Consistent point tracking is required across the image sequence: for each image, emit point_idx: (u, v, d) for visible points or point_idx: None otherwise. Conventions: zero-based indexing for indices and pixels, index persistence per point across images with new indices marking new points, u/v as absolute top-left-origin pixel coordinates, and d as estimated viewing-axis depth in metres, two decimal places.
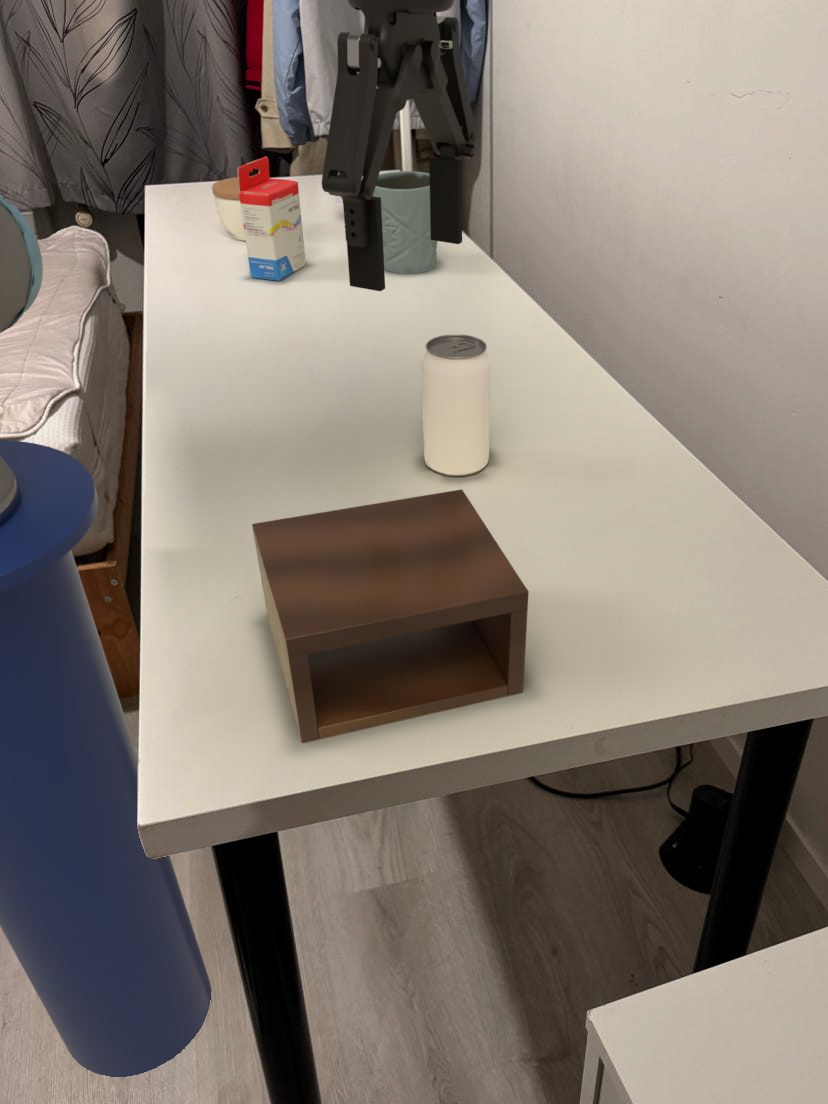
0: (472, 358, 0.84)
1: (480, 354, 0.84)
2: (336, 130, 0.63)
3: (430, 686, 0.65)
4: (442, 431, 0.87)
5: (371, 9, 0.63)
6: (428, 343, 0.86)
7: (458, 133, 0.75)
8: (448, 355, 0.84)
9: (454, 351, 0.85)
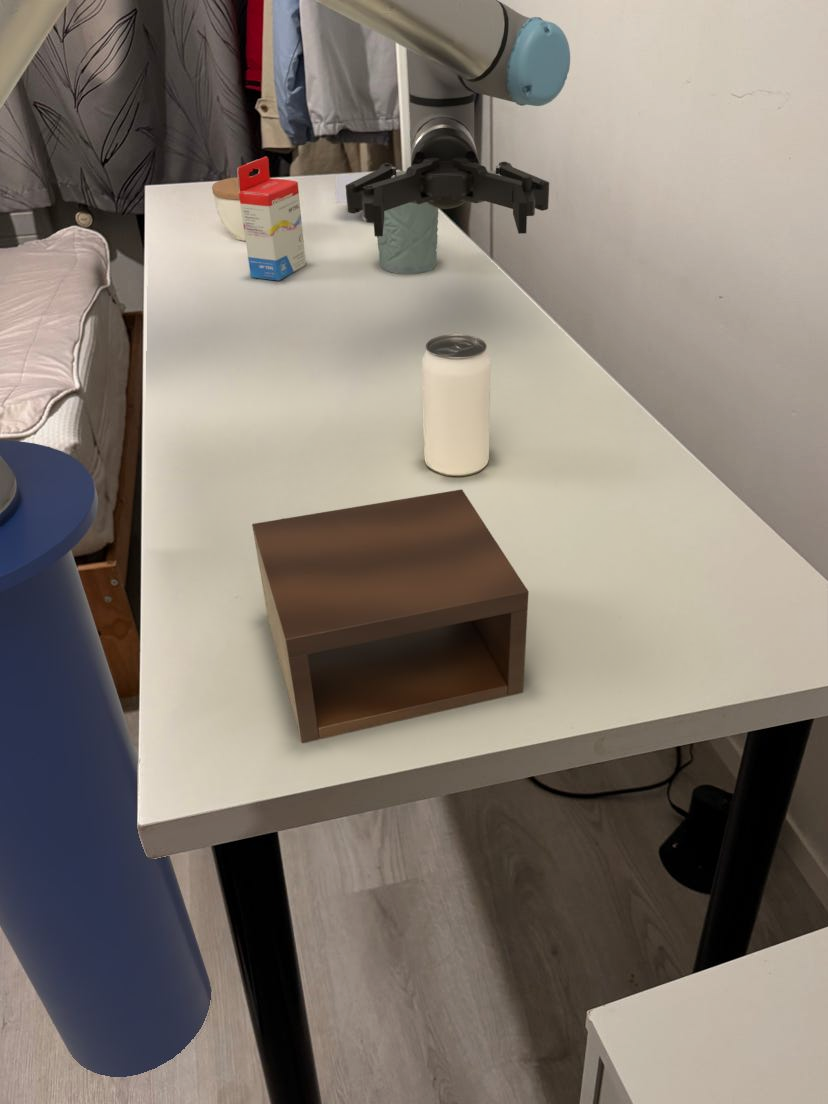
0: (472, 358, 0.84)
1: (480, 354, 0.84)
2: None
3: (430, 686, 0.65)
4: (442, 431, 0.87)
5: None
6: (428, 343, 0.86)
7: None
8: (448, 355, 0.84)
9: (454, 351, 0.85)
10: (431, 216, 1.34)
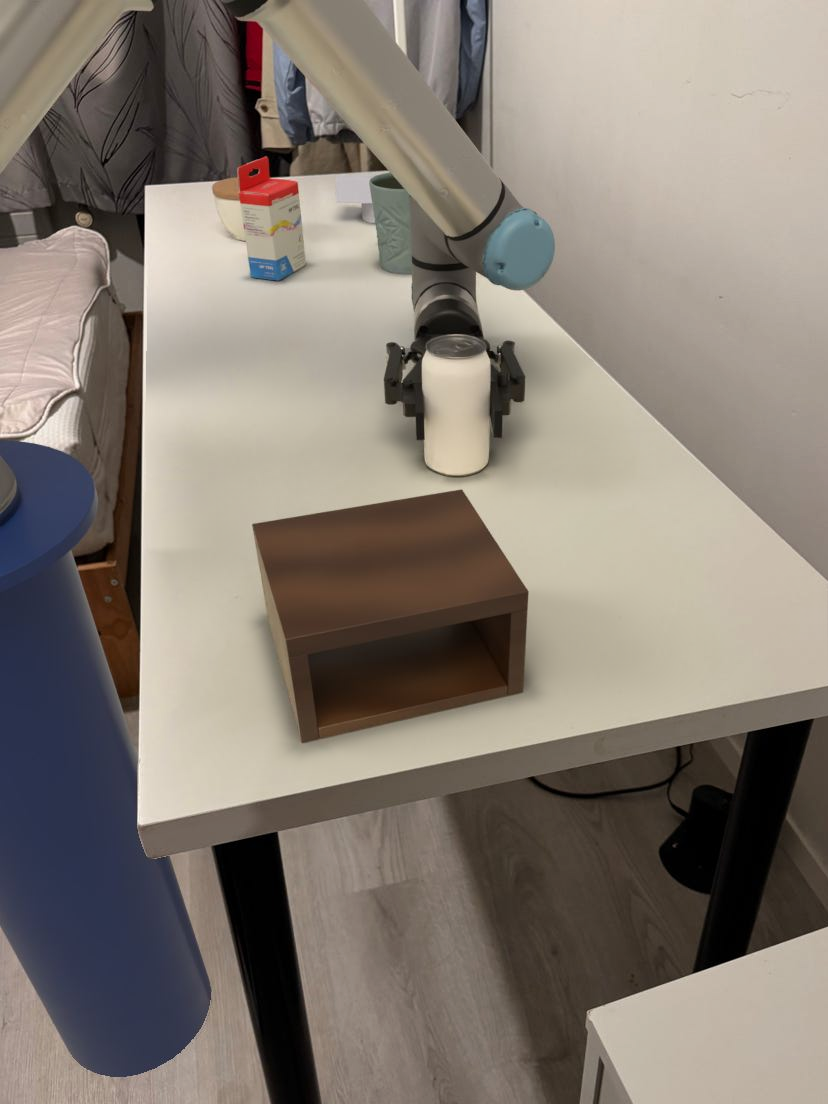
0: (472, 358, 0.84)
1: (480, 354, 0.84)
2: None
3: (430, 686, 0.65)
4: (442, 431, 0.87)
5: None
6: (428, 343, 0.86)
7: None
8: (448, 355, 0.84)
9: (454, 351, 0.85)
10: None
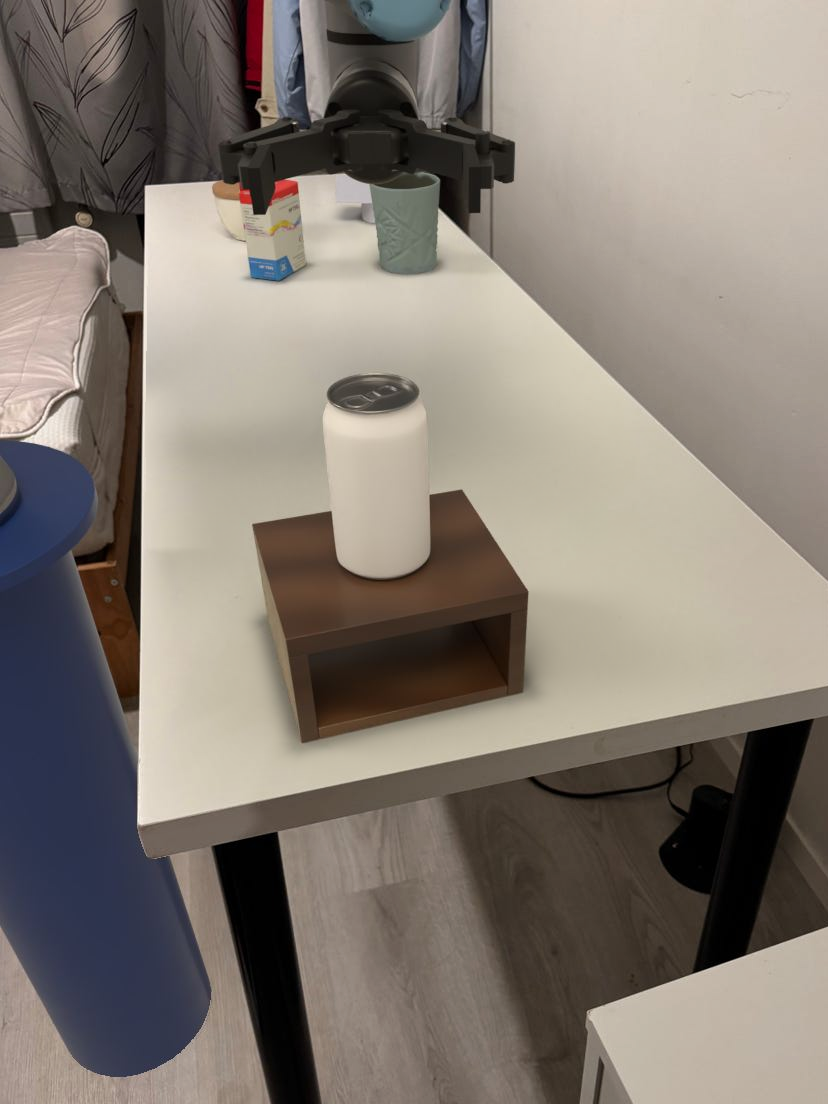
0: (395, 412, 0.55)
1: (408, 406, 0.55)
2: None
3: (430, 686, 0.65)
4: (356, 518, 0.58)
5: None
6: (332, 388, 0.57)
7: None
8: (359, 407, 0.55)
9: (370, 400, 0.56)
10: (431, 216, 1.34)
